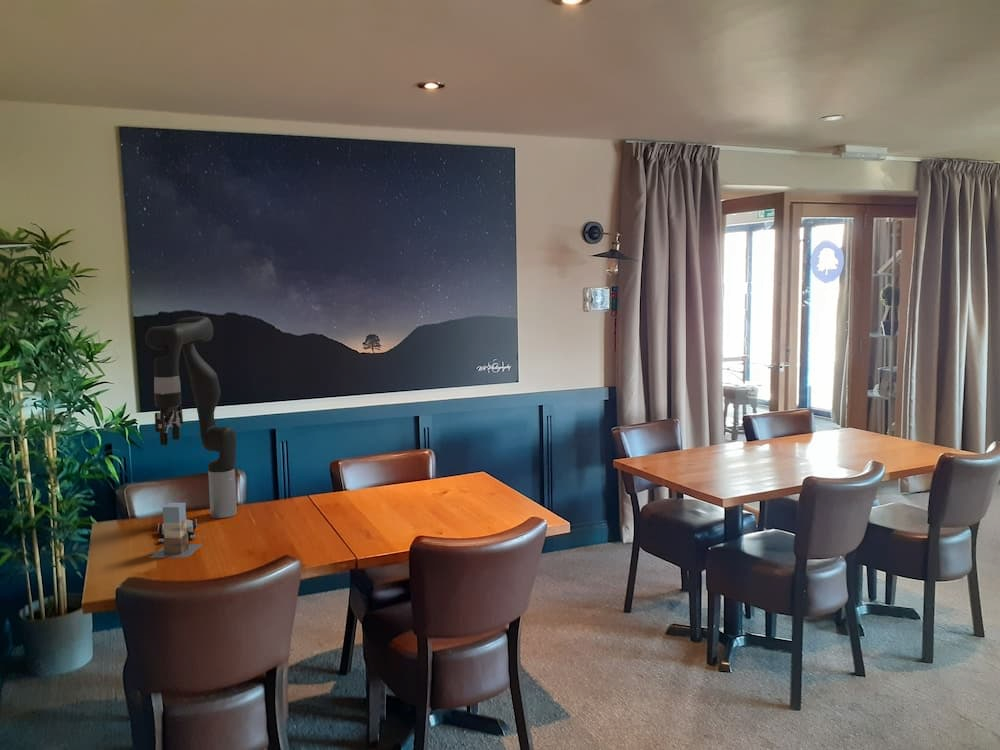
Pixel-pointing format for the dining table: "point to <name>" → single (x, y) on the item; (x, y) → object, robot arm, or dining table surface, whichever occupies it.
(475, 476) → the dining table surface
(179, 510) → the blue block
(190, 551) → the slate pad
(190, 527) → the robot toy
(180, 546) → the walnut block
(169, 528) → the beech block
